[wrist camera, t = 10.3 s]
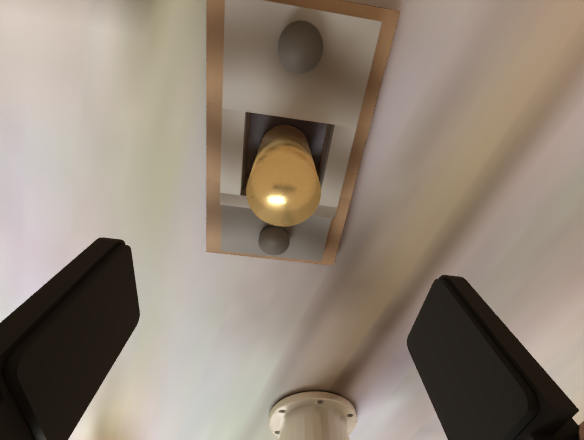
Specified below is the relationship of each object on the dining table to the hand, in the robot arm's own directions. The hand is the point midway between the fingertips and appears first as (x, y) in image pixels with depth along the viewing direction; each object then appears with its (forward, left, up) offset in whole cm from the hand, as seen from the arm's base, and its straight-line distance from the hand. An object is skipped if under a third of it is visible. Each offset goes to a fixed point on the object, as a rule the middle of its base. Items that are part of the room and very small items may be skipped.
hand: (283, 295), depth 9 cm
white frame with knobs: (0, 0, -16) cm, 16 cm away
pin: (0, 0, -16) cm, 16 cm away
